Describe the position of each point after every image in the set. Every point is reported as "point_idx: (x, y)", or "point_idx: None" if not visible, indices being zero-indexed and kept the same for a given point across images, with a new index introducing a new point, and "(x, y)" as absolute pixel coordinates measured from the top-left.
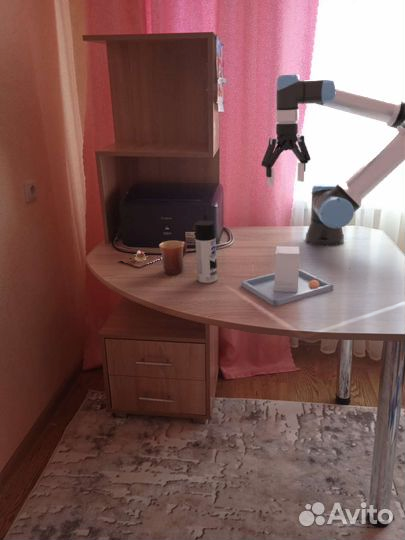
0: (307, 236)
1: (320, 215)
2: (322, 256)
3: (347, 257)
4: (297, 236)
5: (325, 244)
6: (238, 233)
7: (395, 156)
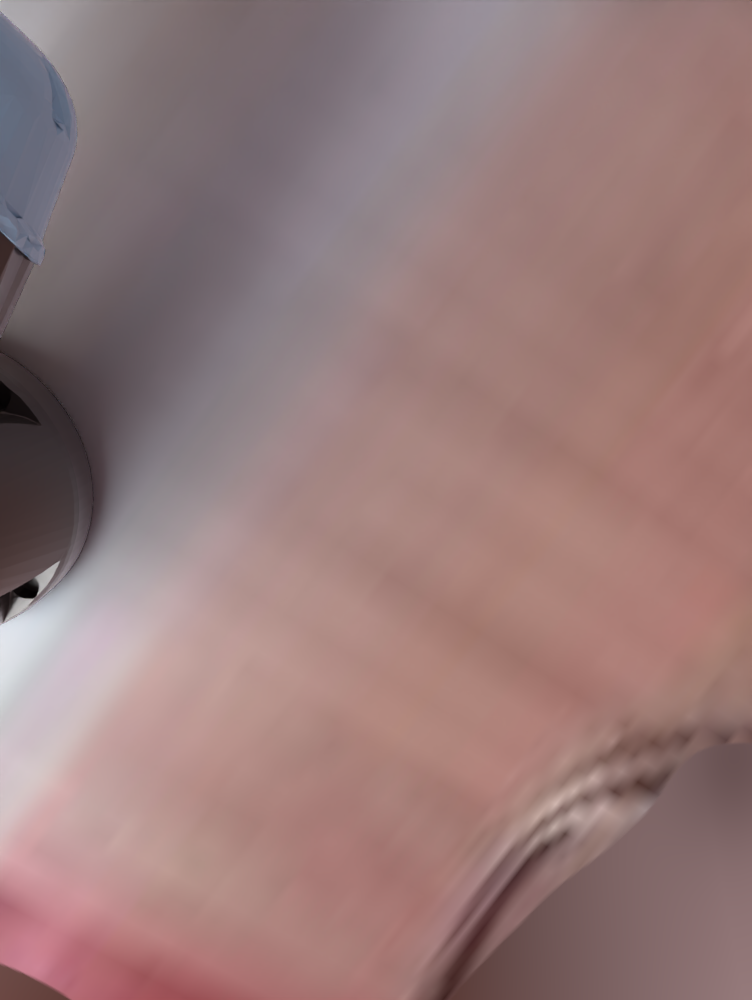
0: (69, 537)
1: (69, 135)
2: (178, 187)
3: None
4: (73, 671)
5: (11, 365)
6: (400, 929)
7: None
